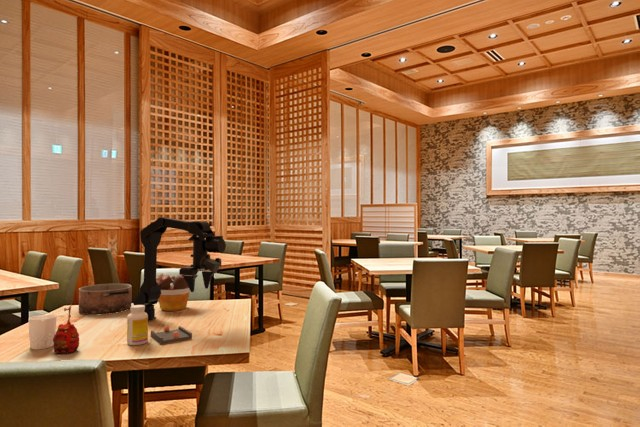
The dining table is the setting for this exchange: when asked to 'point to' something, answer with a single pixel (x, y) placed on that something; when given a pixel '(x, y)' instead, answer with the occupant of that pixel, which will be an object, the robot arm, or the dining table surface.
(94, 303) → the cooking pot
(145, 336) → the supplement bottle
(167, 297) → the bucket of meat
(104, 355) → the dining table surface
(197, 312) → the dining table surface
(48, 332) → the white cup
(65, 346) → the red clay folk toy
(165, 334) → the tray
